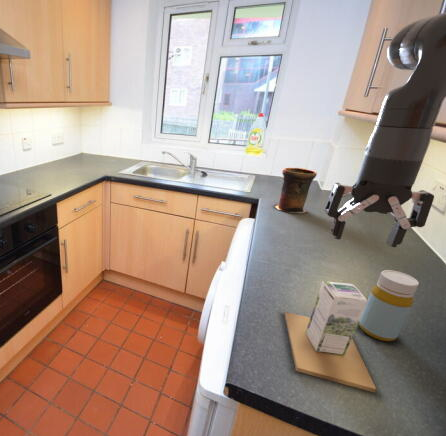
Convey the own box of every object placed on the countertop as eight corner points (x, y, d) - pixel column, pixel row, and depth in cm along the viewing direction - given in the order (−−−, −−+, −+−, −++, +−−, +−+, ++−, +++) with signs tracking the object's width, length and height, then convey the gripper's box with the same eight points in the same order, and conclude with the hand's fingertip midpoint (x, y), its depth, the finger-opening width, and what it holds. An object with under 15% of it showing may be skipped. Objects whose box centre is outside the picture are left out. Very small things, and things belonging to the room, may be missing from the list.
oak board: (344, 328, 71) (346, 325, 70) (374, 393, 55) (376, 389, 55) (284, 315, 75) (285, 311, 74) (296, 371, 59) (297, 367, 59)
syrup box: (332, 336, 67) (352, 282, 61) (345, 357, 61) (368, 299, 56) (304, 333, 68) (321, 278, 62) (316, 353, 62) (335, 295, 57)
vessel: (297, 204, 157) (306, 167, 150) (312, 214, 144) (323, 173, 136) (269, 204, 157) (277, 166, 150) (282, 213, 144) (292, 173, 137)
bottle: (399, 347, 66) (426, 290, 60) (360, 335, 69) (383, 280, 63) (391, 328, 71) (415, 274, 66) (355, 317, 74) (375, 266, 69)
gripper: (350, 155, 49) (324, 243, 55) (463, 161, 44) (421, 257, 50) (337, 149, 55) (315, 228, 61) (434, 154, 51) (400, 239, 57)
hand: (363, 241), depth 56 cm, fingers open, 8 cm apart
